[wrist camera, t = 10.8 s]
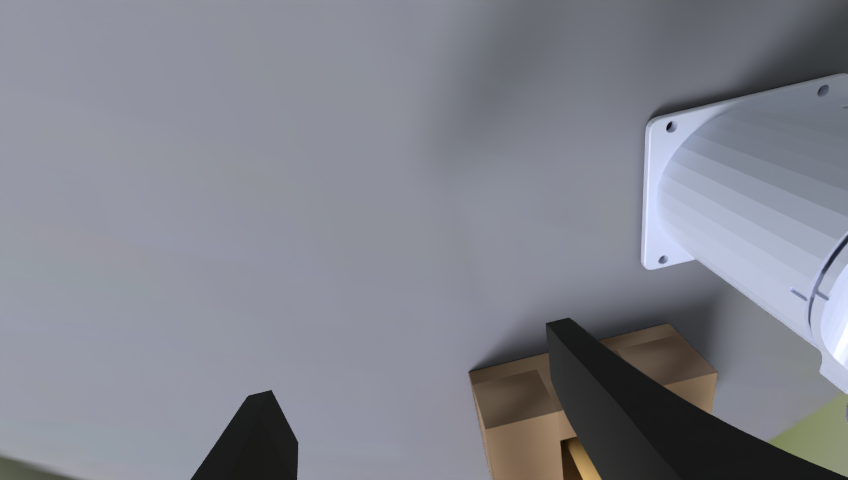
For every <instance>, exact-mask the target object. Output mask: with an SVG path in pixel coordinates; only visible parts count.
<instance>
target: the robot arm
mask: <svg viewBox="0 0 848 480" xmlns="http://www.w3.org/2000/svg"><path fill="white" fill-rule="evenodd" d="M820 87H821V89H820ZM819 89H820V92H819V93H818V90H819ZM671 121H672V126H671V127H670V129H668V130H666V127H667V124H668V123H669V122H671ZM663 255H664V256H663ZM661 256H663V258H662V259H660V260H659V258H660V257H661ZM695 259H697V260H698V261H700V262H701V263H702V264H704V265H705V266H706V267H708V268H709V269H710V270H712V271H713V272H714V273H716V274H717V275H718V276H720V277H721V278H723V279H724V280H725V281H727V282H728V283H729V284H731V285H732V286H733V287H735V288H736V289H737V290H739V291H740V292H741V293H743V294H744V295H745V296H747V297H748V298H750V299H751V300H752V301H754V302H755V303H756V304H758V305H759V306H760V307H762V308H763V309H764V310H766V311H767V312H768V313H770V314H771V315H773V316H774V317H775V318H777V319H778V320H779V321H781V322H782V323H783V324H785V325H786V326H787V327H789V328H790V329H791V330H793V331H794V332H796V333H797V334H798V335H800V336H801V337H802V338H804V339H805V340H806V341H808V342H809V343H810V344H812V345H813V346H814V347H816V348H817V349H818V350H820V351H821V353H822V364H821V367H820V373H821V374H822V375H823V376H824V377H826V378H827V379H828V380H829V381H831V382H832V383H833V384H835V385H836V386H837V387H838V388H840V389H841V390H842V391H843V392H845V393H846V394H848V74H846V73H839V74H835V75H831V76H827V77H822V78H818V79H814V80H810V81H805V82H801V83H797V84H793V85H788V86H784V87H780V88H776V89H772V90H767V91H763V92H759V93H755V94H750V95H746V96H742V97H738V98H733V99H729V100H725V101H721V102H717V103H712V104H708V105H704V106H700V107H695V108H691V109H687V110H683V111H678V112H674V113H670V114H666V115H662V116H657V117H655V118H653V119H652V120H650V121H649V123H648V124H647V126H646V134H645V162H644V190H643V218H642V245H641V264H642V265H643V266H644V267H645V268H646V269H648V270H654V269H658V268H662V267H666V266H670V265H674V264H678V263H683V262H687V261H691V260H695ZM546 332H547V343H548V354H549V365H550V376H551V382H552V384H553V387H554V389H555V392H556V394H557V396H558V399H559V401H560V403H561V406H562V408H563V410H564V413H565V415H566V417H567V419H568V421H569V423H570V424H571V426H572V428H573V430H574V432H575V433H576V435H577V437H578V439H579V441H580V442H581V444H582V446H583V448H584V449H585V451H586V453H587V455H588V456H589V458H590V460H591V462H592V464H593V465H594V467H595V469H596V471H597V472H598V474H599V476H600V478H601V479H602V480H848V477H845V476H843V475H840V474H838V473H835V472H833V471H831V470H828V469H826V468H823V467H821V466H818V465H816V464H813V463H811V462H808V461H806V460H804V459H801V458H799V457H797V456H795V455H792V454H790V453H788V452H786V451H784V450H782V449H779V448H777V447H775V446H773V445H771V444H769V443H767V442H765V441H762V440H760V439H758V438H756V437H754V436H752V435H750V434H747V433H745V432H743V431H741V430H739V429H737V428H735V427H733V426H731V425H729V424H727V423H726V422H724V421H722V420H720V419H718V418H716V417H715V416H713V415H711V414H709V413H707V412H705V411H704V410H702V409H700V408H698V407H697V406H695V405H693V404H691V403H690V402H688V401H686V400H685V399H683V398H681V397H680V396H678V395H676V394H675V393H673V392H672V391H670V390H669V389H667V388H665V387H664V386H662V385H661V384H659V383H658V382H656V381H655V380H653V379H652V378H650V377H649V376H647V375H646V374H644V373H643V372H641V371H640V370H638V369H637V368H635V367H634V366H633V365H631V364H630V363H628V362H627V361H626V360H624V359H623V358H621V357H620V356H619V355H617V354H616V353H614V352H613V351H612V350H610V349H609V348H608V347H606V346H605V345H604V344H603V343H601V342H600V341H599V340H597V339H596V338H595V337H593V336H592V335H591V334H590V333H588V332H587V331H586V330H585V329H583V328H582V327H581V326H579V325H578V324H577V323H576V322H574V321H573V320H572V319H570V318H566V319H561V320H557V321H553V322H549V323H546ZM846 421H847V425H848V404H847V408H846ZM297 468H298V441H297V439H296V437H295V435H294V433H293V431H292V430H291V428H290V426H289V424H288V422H287V420H286V418H285V416H284V414H283V412H282V410H281V408H280V406H279V404H278V402H277V400H276V398H275V396H274V394H273V392H272V390H270V391H266V392H262V393H257V394H253V395H249V396H248V397H247V398H246V399H245V401H244V402H243V404H242V405H241V407H240V408H239V410H238V411H237V413H236V414H235V416H234V417H233V419H232V420H231V422H230V423H229V425H228V426H227V428H226V429H225V431H224V432H223V433H222V435H221V436H220V438H219V439H218V441H217V442H216V444H215V445H214V447H213V448H212V450H211V451H210V453H209V454H208V456H207V457H206V458H205V460H204V461H203V463H202V464H201V466H200V467H199V468H198V470H197V471H196V473H195V474H194V476H193V477H192V478H191V480H297Z"/></svg>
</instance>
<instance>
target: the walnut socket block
mask: <svg viewBox="0 0 848 480" xmlns="http://www.w3.org/2000/svg"><path fill="white" fill-rule="evenodd" d="M599 341H600V342H601V343H603V344H604V345H605V346H606V347H608V348H609V349H610V350H612V351H613V352H614V353H616V354H617V355H619V356H620V357H621V358H623V359H624V360H626V361H627V362H628V363H630V364H631V365H633V366H634V367H635V368H637V369H638V370H640V371H641V372H643V373H644V374H646V375H647V376H649V377H650V378H652V379H653V380H655V381H656V382H658V383H659V384H661V385H662V386H664V387H665V388H667V389H669V390H670V391H672V392H673V393H675V394H676V395H678V396H680V397H681V398H683V399H685V400H686V401H688V402H690V403H691V404H693V405H695V406H697V407H698V408H700V409H702V410H704V411H705V412H707V413H709V414H711V413H712V406H713V400H714V393H715V387H716V380H717V374H718V372H717V371H716V370H715V369H714V368H713V367H712V366H711V365H710V364H709V363H708V362H707V361H706V360H705V359H704V358H703V357H702V356H701V355H700V354H699V353H698V352H697V351H696V350H695V349H694V348H693V347H692V346H691V345H690V344H689V343H688V342H687V341H686V340H685V339H684V338H683V337H682V336H681V335H680V334H679V333H678V332H677V331H676V329H675V328H674V327H673V326H672V325H671V324H670V323H667V324H663V325H659V326H655V327H651V328H647V329H643V330H639V331H635V332H631V333H627V334H622V335H618V336H614V337H610V338H606V339H602V340H599ZM469 377H470V381H471V386H472V391H473V396H474V401H475V405H476V410H477V415H478V420H479V425H480V429H481V434H482V439H483V444H484V448H485V453H486V458H487V463H488V468H489V472H490V475H491V479H492V480H583V478H582V476H581V474H580V472H579V470H578V468H577V466H576V463H575V461H574V459H573V457H572V455H571V453H570V451H569V448H568V446H567V444H566V442H565V440H564V439H568V438H572V437H576V436H577V435H576V433H575V432H574V430H573V428H572V426H571V424H570V423H569V421H568V419H567V417H566V415H565V413H564V410H563V408H562V406H561V403H560V401H559V399H558V396H557V394H556V392H555V389H554V387H553V384H552V382H551V376H550V365H549V354H548V353H545V354H541V355H537V356H533V357H528V358H524V359H520V360H516V361H512V362H508V363H504V364H500V365H496V366H492V367H488V368H483V369H479V370H475V371H471V372H469Z"/></svg>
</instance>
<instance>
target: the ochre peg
mask: <svg viewBox="0 0 848 480" xmlns="http://www.w3.org/2000/svg"><path fill="white" fill-rule="evenodd" d="M564 440H565V442H566V444H567V446H568V448H569V451H570V453H571V455H572V457H573V459H574V461H575V463H576V466H577V468H578V470H579V472H580V474H581V476H582V478H583V480H602V479H601V478H600V476H599V474H598V472H597V471H596V469H595V467H594V465H593V464H592V462H591V460H590V458H589V456H588V455H587V453H586V451H585V449H584V448H583V446H582V444H581V442H580V441H579V439H578V437H577V436H576V437H572V438H568V439H564Z"/></svg>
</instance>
